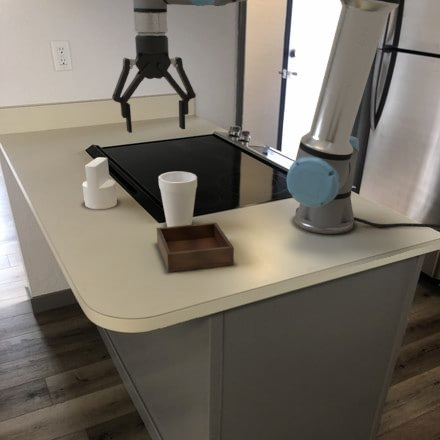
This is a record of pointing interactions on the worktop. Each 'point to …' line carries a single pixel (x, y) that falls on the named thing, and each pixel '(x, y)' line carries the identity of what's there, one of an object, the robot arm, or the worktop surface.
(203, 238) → the caddy
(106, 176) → the base with upright slab
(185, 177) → the foam cup
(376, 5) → the robot arm
